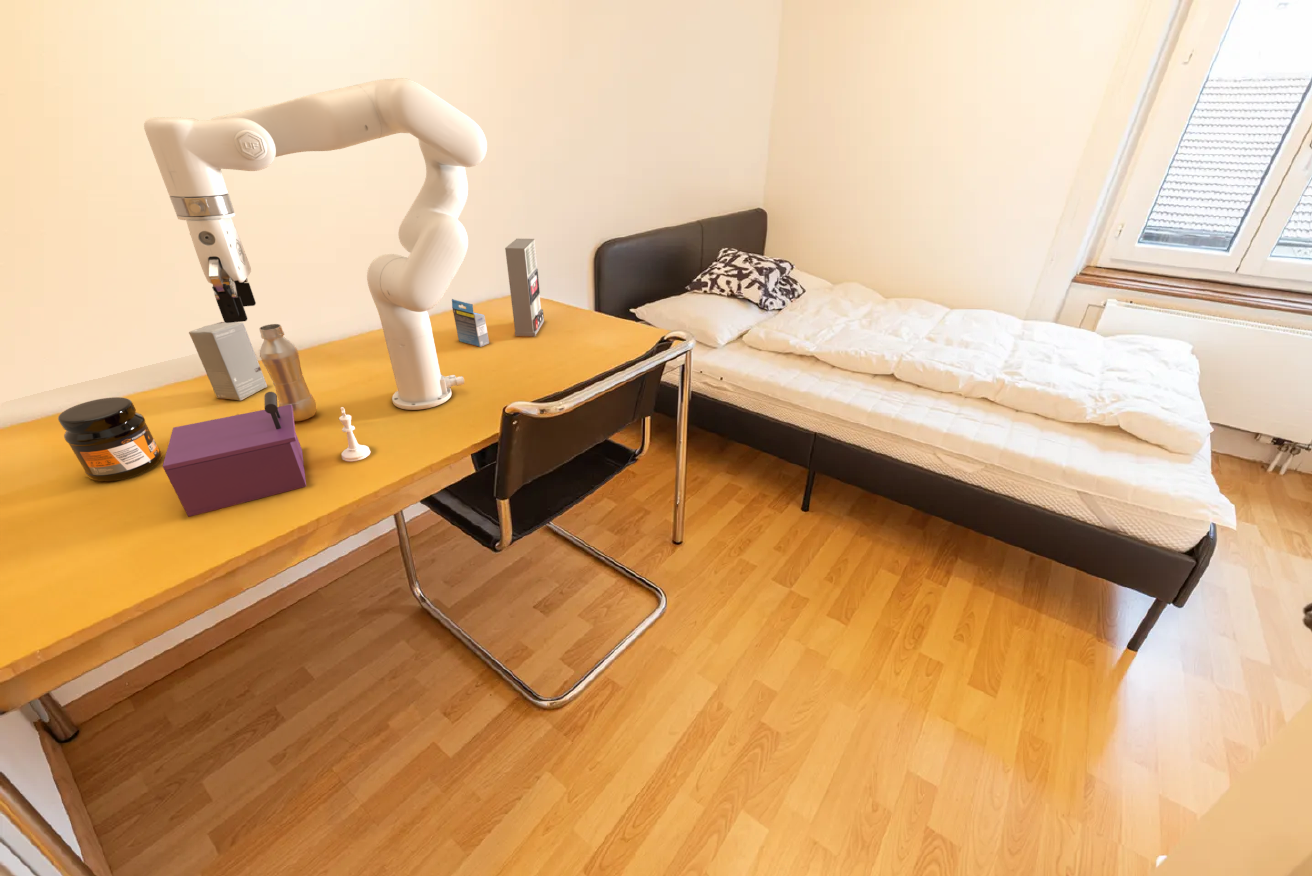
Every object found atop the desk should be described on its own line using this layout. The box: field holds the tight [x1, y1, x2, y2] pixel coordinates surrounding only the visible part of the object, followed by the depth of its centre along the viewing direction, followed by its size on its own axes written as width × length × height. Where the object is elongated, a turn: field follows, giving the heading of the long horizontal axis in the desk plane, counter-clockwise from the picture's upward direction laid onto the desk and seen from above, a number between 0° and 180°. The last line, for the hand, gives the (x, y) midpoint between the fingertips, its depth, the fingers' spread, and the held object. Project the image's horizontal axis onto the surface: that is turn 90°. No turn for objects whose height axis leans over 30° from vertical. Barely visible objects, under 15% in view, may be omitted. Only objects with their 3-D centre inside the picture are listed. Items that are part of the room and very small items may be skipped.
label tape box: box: [451, 298, 490, 348], centre depth 155 cm, size 9×4×12 cm, turn 58°
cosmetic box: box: [188, 321, 268, 401], centre depth 125 cm, size 8×7×16 cm
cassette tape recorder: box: [504, 238, 545, 338], centre depth 163 cm, size 14×6×25 cm, turn 179°
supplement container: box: [57, 396, 162, 482], centre depth 98 cm, size 10×10×12 cm
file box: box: [164, 431, 307, 517], centre depth 96 cm, size 17×14×9 cm
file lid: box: [162, 391, 297, 471], centre depth 93 cm, size 18×14×6 cm
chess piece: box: [338, 406, 371, 462], centre depth 103 cm, size 5×5×10 cm
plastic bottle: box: [259, 323, 318, 422], centre depth 114 cm, size 6×7×20 cm
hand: (241, 313), depth 97 cm, fingers open, 9 cm apart
